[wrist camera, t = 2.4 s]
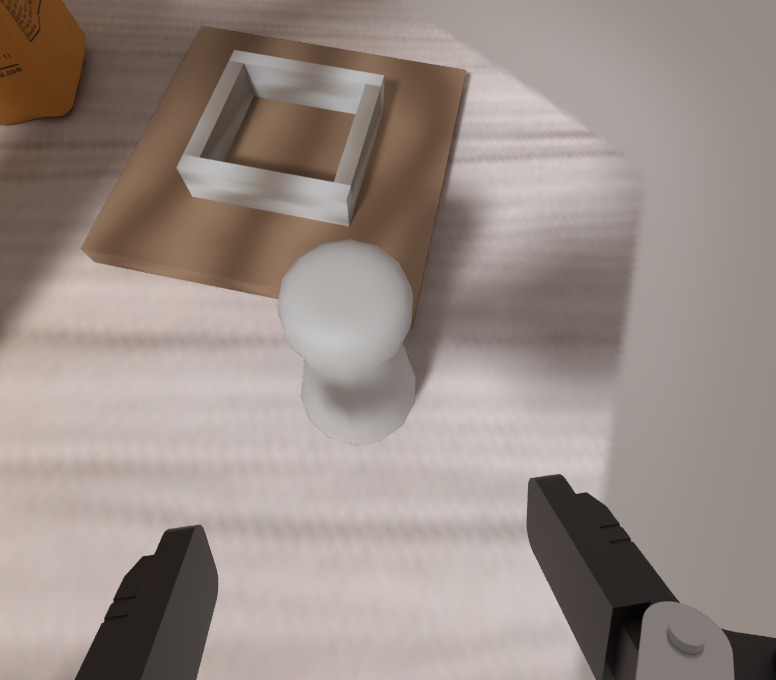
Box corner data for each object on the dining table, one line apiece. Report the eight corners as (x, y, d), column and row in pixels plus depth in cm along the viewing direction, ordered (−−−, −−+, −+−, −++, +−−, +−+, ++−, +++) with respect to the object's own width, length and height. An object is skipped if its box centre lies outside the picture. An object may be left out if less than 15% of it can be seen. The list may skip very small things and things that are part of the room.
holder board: (94, 262, 29) (53, 222, 25) (208, 45, 36) (189, -10, 33) (412, 326, 28) (417, 294, 24) (462, 88, 35) (472, 35, 31)
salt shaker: (374, 332, 27) (371, 178, 15) (433, 411, 26) (482, 306, 14) (287, 388, 26) (210, 266, 14) (344, 474, 24) (312, 420, 12)
